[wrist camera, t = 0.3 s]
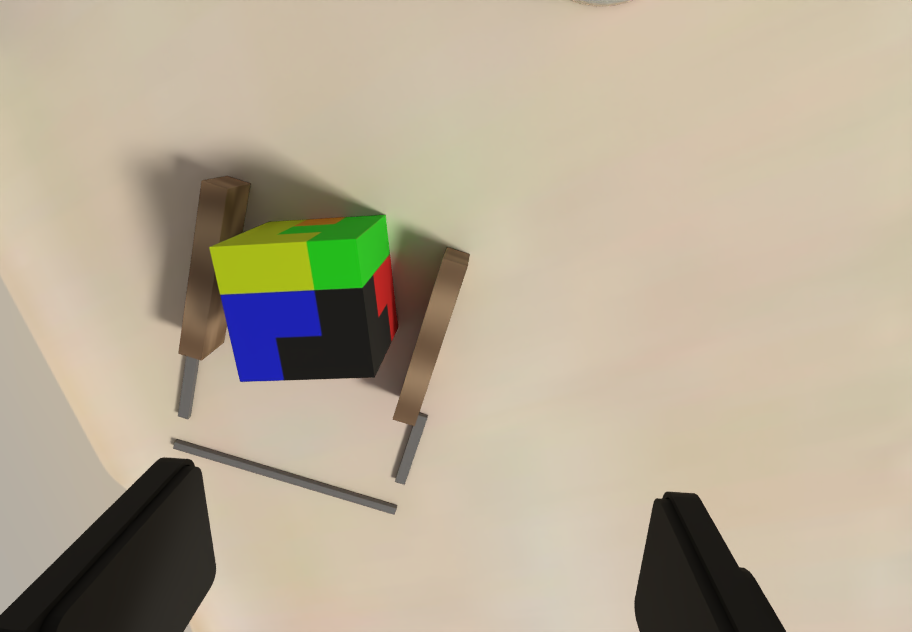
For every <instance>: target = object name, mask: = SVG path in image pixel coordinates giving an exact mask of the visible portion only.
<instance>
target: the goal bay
mask: <svg viewBox="0 0 912 632" xmlns="http://www.w3.org/2000/svg"><path fill="white" fill-rule="evenodd" d="M198 365H199V360H198V359H194V358H191V357H188V356H186V362H185V369H184V376H183V383H182V390H181V397H180V404H179V411H178V416H179V417H182V418H185V419H189V418H190V417H191V411H192V404H193V398H194V391H195V384H196V378H197V371H198ZM427 417H428V415H425V414H422V413H419V415H418V418H417V421H416V424H415V426H413V428H412V431H411V434H410V437H409V440H408V443H407V446H406V449H405V452H404V455H403V458H402V461H401V464H400V467H399V470H398V473H397V477H396V480H395V482H397V483H401V484H404V485H405V482H406V479H407V476H408V473H409V470H410V467H411V464H412V461H413V459H414V456H415V453H416V450H417V447H418V444H419V441H420V438H421V435H422V432H423V429H424V426H425V423H426V420H427ZM173 449H176V450H180V451H183V452H186V453H190V454H193V455H196V456H200V457H203V458H206V459H210V460H213V461H216V462H220V463H223V464H226V465H230V466H233V467H236V468H240V469H243V470H247V471H250V472H253V473H257V474H260V475H263V476H267V477H270V478H273V479H277V480H280V481H283V482H287V483H290V484H293V485H297V486H300V487H303V488H307V489H310V490H313V491H317V492H320V493H323V494H327V495H330V496H333V497H337V498H340V499H343V500H347V501H350V502H353V503H357V504H360V505H363V506H367V507H370V508H373V509H377V510H380V511H384V512H387V513H390V514H394V515H395V512H396V509H397V505H394V504H391V503H388V502H384V501H381V500H378V499H374V498H371V497H368V496H364V495H361V494H358V493H354V492H351V491H348V490H344V489H341V488H338V487H334V486H331V485H328V484H324V483H321V482H318V481H314V480H311V479H308V478H304V477H301V476H298V475H294V474H291V473H288V472H284V471H281V470H278V469H274V468H271V467H268V466H264V465H261V464H258V463H254V462H251V461H248V460H244V459H241V458H238V457H234V456H231V455H228V454H224V453H221V452H218V451H214V450H211V449H208V448H204V447H201V446H198V445H194V444H191V443H188V442H184V441H181V440H178V439H177V440H176V441H175V442H174V447H173Z"/></svg>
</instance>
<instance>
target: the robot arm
mask: <svg viewBox="0 0 912 632" xmlns="http://www.w3.org/2000/svg"><path fill="white" fill-rule="evenodd" d="M572 1H574V2H577V3H579V4H585V5H591V6H614V5H618V4H622V3H626V2H630V1H632V0H572ZM215 574H216V563H215V556H214V550H213V543H212V537H211V530H210V523H209V517H208V510H207V504H206V497H205V491H204V484H203V477H202V472H201V469H200V468H199V467H195V465H194V463H193V461H192V460H190V459H179V458H165V457H164V458H160V459H159V460H157V461H156V462H155V463H154V464H153V465H152V466H151V467H150V468H149V469H148V470H147V471H146V472H145V473H144V474H143V475H142V476H141V477H140V478H139V479H138V480H137V481H136V482H135V483H134V484H133V485H132V486H131V487H130V488H129V489H128V490H127V491H126V492H125V493H124V494H123V495H122V496H121V497H120V498H119V499H118V500H117V501H116V502H115V503H114V504H113V505H112V506H111V507H109V508H108V510H106V511H105V512H104V513H103V514H102V515H101V516H100V517H99V518H98V519H97V520H96V521H95V522H94V523H93V524H92V525H91V526H90V527H89V528H88V529H87V530H86V531H85V532H84V533H83V534H82V535H81V536H80V537H79V538H78V539H77V540H76V541H75V542H74V543H73V544H72V545H71V546H70V547H69V548H68V549H67V550H66V551H65V552H64V553H63V554H62V555H61V556H60V557H59V558H58V559H57V560H56V561H55V562H54V563H53V564H52V565H51V566H50V567H49V568H48V569H47V570H46V571H45V572H44V573H43V574H42V575H40V577H38V579H36V580H35V581H34V582H33V583H32V584H31V585H30V586H29V587H28V588H27V589H26V590H25V591H24V592H23V593H22V594H21V595H20V596H19V597H18V598H17V599H16V600H15V601H14V602H13V603H12V604H11V605H10V606H9V607H8V608H7V609H6V610H5V611H4V612H3V613H2V614H1V615H0V632H184V630H185V628H186V626H187V625H188V623H189V622H190V620H191V619H192V617H193V615H194V614H195V612H196V610H197V609H198V607H199V606H200V604H201V602H202V601H203V599H204V597H205V596H206V594H207V593H208V591H209V589H210V588H211V586H212V584H213V581H214V578H215ZM635 616H636V621H637V624H638V628H639V631H640V632H786V630H785V629H784V627H783V625H782V624H781V622H780V620H779V619H778V617H777V615H776V613H775V612H774V610H773V608H772V607H771V605H770V603H769V602H768V600H767V598H766V597H765V595H764V593H763V591H762V590H761V588H760V586H759V585H758V583H757V581H756V580H755V578H754V577H753V575H752V574H751V573H750V571H748V570H747V569H745V568H740V567H739V566H738V564H737V563H736V561H735V559H734V557H733V556H732V554H731V552H730V550H729V549H728V547H727V545H726V543H725V542H724V540H723V538H722V536H721V534H720V533H719V531H718V529H717V527H716V526H715V524H714V522H713V520H712V519H711V517H710V515H709V513H708V512H707V510H706V508H705V506H704V505H703V503H702V501H701V499H700V498H699V496H698V495H697V494H695V493H680V492H665V494H664V495H663V498H662V499H658V498H657V499H655V501H654V504H653V508H652V513H651V518H650V524H649V529H648V534H647V539H646V544H645V549H644V554H643V560H642V565H641V570H640V575H639V580H638V585H637V590H636V596H635Z"/></svg>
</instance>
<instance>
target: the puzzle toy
mask: <svg viewBox="0 0 912 632" xmlns="http://www.w3.org/2000/svg"><path fill="white" fill-rule="evenodd" d="M209 248H210V253H211V257H212V262H213V266H214V270H215V275H216V279H217V283H218V288H219V292H220V296H221V301H222V305H223V309H224V314H225V318H226V322H227V327H228V331H229V336H230V340H231V344H232V349H233V353H234V357H235V362H236V366H237V370H238V375H239V379H240V382H249V381H279V380H309V379H339V378H369V377H375V376H376V373H377V371H378V369H379V367H380V365H381V363H382V361H383V359H384V356H385V354H386V352H387V350H388V348H389V346H390V344H391V342H392V339H393V337H394V335H395V333H396V331H397V329H398V321H397V312H396V304H395V295H394V286H393V277H392V268H391V260H390V251H389V242H388V233H387V224H386V215H374V216H357V217H340V218H324V219H307V220H290V221H274V222H267V223H265V224H262V225H260V226H258V227H255V228H253V229H251V230H248V231H246V232H244V233H241V234H239V235H236V236H234V237H232V238H229V239H227V240H225V241H222V242H220V243H218V244H215V245H213V246H210V247H209Z"/></svg>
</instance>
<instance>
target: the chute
mask: <svg viewBox="0 0 912 632" xmlns="http://www.w3.org/2000/svg"><path fill="white" fill-rule="evenodd" d="M250 184H251V183H247V182H244V181H241V180H238V179H235V178H232V177H229V176H224V177H218V178H213V179H208V180H202V182H201V189H200V197H199V204H198V212H197V219H196V227H195V234H194V241H193V249H192V256H191V264H190V271H189V278H188V286H187V293H186V301H185V308H184V316H183V323H182V330H181V338H180V345H179V353H178V354H181V355H185V356H188V357H191V358H194V359H198V360H203V359H204V358H205V357H206V356H208V355H209V354H210V353H211V352H213V351H214V350H215V349H216V348H218V347H219V346H220V345H221V344H223V343H224V339H225V333H226V327H227V322H226V318H225V314H224V309H223V305H222V301H221V296H220V292H219V288H218V283H217V279H216V275H215V270H214V266H213V262H212V257H211V253H210V248H209V247H210V246H213V245H215V244H218V243H220V242H222V241H225V240H227V239H229V238H232V237H234V236H236V235H239V234H241V233H242V232H243V226H244V220H245V214H246V208H247V202H248V196H249V190H250ZM469 256H470V254H467V253H464V252H461V251H458V250H455V249H452V248H449V247H447V249H446V251H445V254H444V257H443V259H442V263H441V266H440V269H439V272H438V275H437V279H436V282H435V285H434V288H433V291H432V295H431V298H430V301H429V304H428V307H427V311H426V314H425V317H424V320H423V323H422V327H421V330H420V333H419V336H418V340H417V343H416V346H415V349H414V352H413V356H412V359H411V362H410V365H409V368H408V372H407V375H406V378H405V381H404V384H403V388H402V391H401V394H400V397H399V400H398V404H397V407H396V410H395V413H394V416H393V420H396V421H399V422H403V423H406V424H409V425H412V426H415V424H416V421H417V418H418V415H419V412H420V409H421V406H422V403H423V400H424V397H425V394H426V391H427V388H428V384H429V381H430V378H431V375H432V372H433V369H434V366H435V363H436V360H437V357H438V354H439V351H440V348H441V345H442V342H443V339H444V336H445V333H446V330H447V327H448V324H449V321H450V318H451V315H452V312H453V309H454V306H455V303H456V300H457V297H458V294H459V291H460V288H461V285H462V282H463V279H464V276H465V273H466V270H467V267H468V262H469Z"/></svg>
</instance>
